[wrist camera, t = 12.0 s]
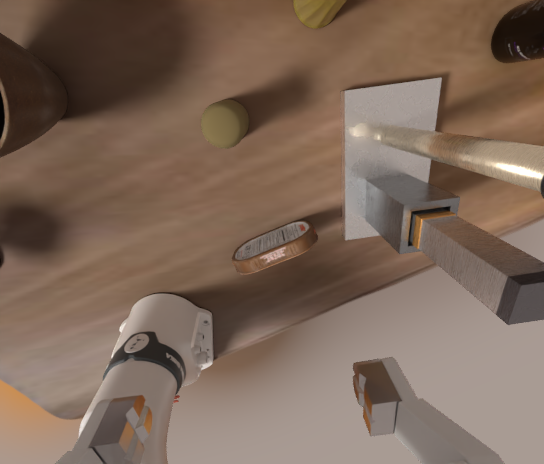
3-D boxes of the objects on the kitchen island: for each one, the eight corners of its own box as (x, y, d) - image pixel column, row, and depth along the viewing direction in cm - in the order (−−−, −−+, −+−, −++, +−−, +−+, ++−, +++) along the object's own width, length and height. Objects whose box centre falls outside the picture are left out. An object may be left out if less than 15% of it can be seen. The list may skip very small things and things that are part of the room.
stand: (415, 224, 50) (591, 351, 24) (342, 235, 50) (439, 374, 24) (433, 78, 40) (771, 28, 14) (340, 91, 40) (508, 64, 14)
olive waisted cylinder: (252, 103, 40) (252, 103, 30) (246, 145, 42) (244, 158, 32) (210, 95, 39) (196, 91, 29) (207, 138, 41) (193, 149, 31)
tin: (238, 257, 51) (236, 284, 43) (230, 244, 49) (227, 269, 42) (312, 226, 49) (324, 249, 41) (307, 212, 48) (317, 232, 40)
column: (418, 222, 40) (556, 318, 22) (391, 226, 40) (506, 325, 22) (421, 195, 39) (574, 276, 20) (393, 200, 39) (520, 284, 20)
